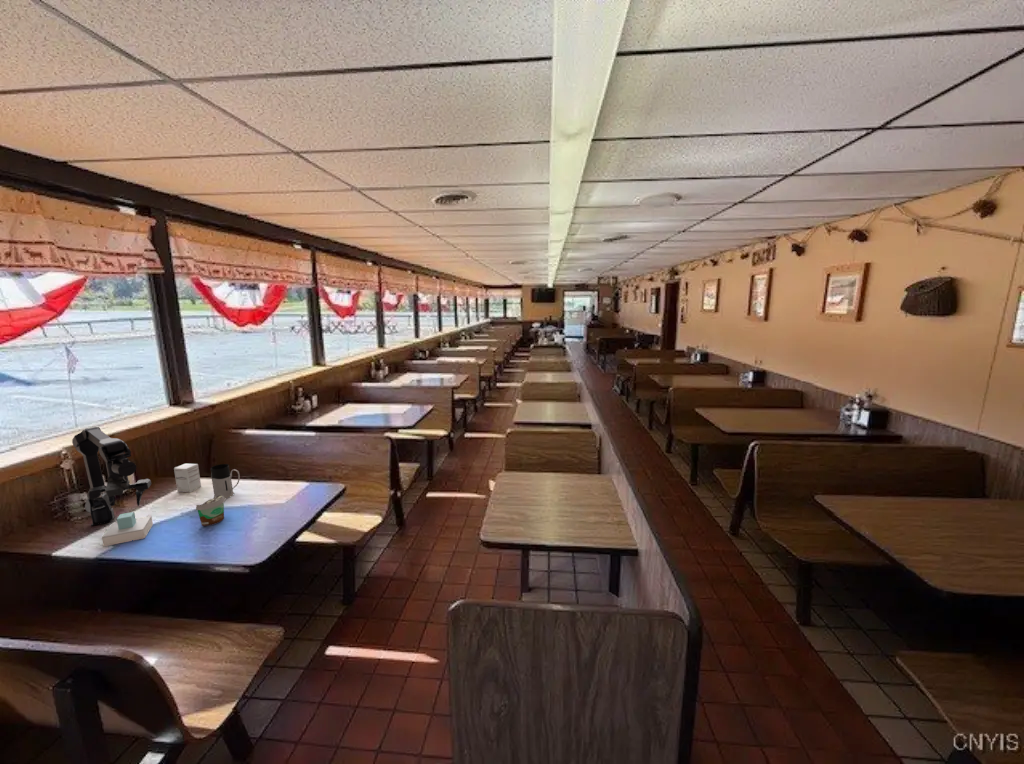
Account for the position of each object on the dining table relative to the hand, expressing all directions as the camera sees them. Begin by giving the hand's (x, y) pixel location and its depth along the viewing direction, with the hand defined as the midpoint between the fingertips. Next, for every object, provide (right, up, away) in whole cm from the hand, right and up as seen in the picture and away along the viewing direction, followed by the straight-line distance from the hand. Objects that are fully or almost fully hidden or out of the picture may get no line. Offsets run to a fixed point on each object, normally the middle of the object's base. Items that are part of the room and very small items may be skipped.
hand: (124, 508), depth 185 cm
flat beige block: (0, -12, +2) cm, 12 cm away
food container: (+30, -9, +12) cm, 33 cm away
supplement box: (-7, -4, +47) cm, 48 cm away
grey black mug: (+19, -5, +38) cm, 42 cm away
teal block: (0, -8, +1) cm, 8 cm away
